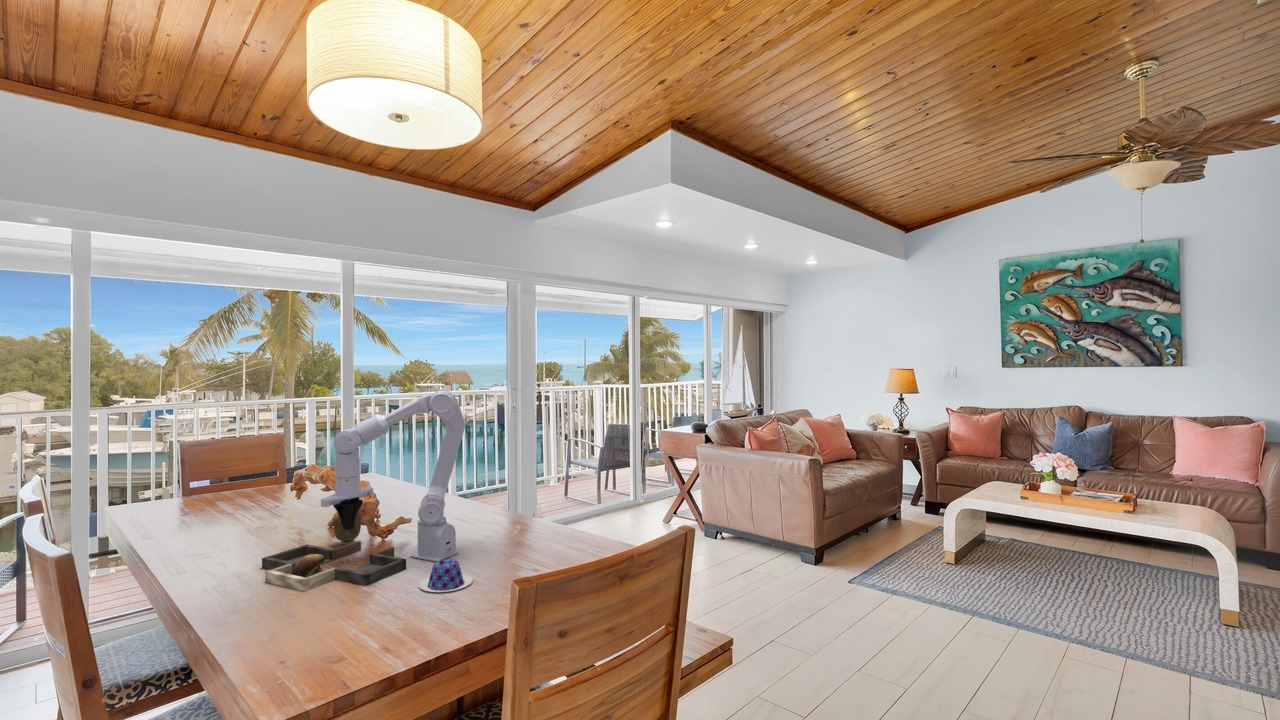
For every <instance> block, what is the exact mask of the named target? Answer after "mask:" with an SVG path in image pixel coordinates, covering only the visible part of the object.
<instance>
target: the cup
mask: <svg viewBox="0 0 1280 720" xmlns="http://www.w3.org/2000/svg"><path fill="white" fill-rule="evenodd" d="M362 519H363V515H362V514H360V515H359V513H357V516H356V519H355V523H354V527H353V529H350V530H346V529H343V526H342V522H341V519H340V516H339V514H338V515H337V519H336V517H333V518H332V525H333V532H334V536H335V538H336V539H337V540H338V541H340V543H339V544H340V547H341V546H344V545H347V544H350V543H353V542H356V541H355V539H357V538H358V537H359V535H360V533H361V527H362Z"/></svg>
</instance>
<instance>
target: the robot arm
mask: <svg viewBox="0 0 1280 720" xmlns="http://www.w3.org/2000/svg"><path fill="white" fill-rule="evenodd" d="M460 406H461V405H460V402H459V400H458V399H457V398H456V397H455V395H454V394H453V393H452V392H451V391H449V390H447V389H439V390H437V391H435V392H434V393H428V394H426V395H425V394H424V395H423V396H420V397H417V398H415V399H414V400H412V401H410V402H408V403H406V404H404V405H402V406H399V408H397V409H395V410H393V411H391V412H389V413H388V414H385V415H383V414H378V413H376V414H374V415H373V414H371V413H370V414H369V415H367V416H366V419H364V420H362V421H360V422H358V423H356V424H354V423H353V424H350V425H349V426H348V427H349V428H346V429H344V430H341V431H340V432H338V433H337V434H336V435H335V436H334V438H333V441H332V443H333V448H334V450H335V460H334V461H335V462H334V464H335V467H334V469H335V470H334V471H335V472H334V473H335V491H334V493H333V494H332V495H329V496H325V497H323V498H320V507H323V508H329V507H330V506H333V508H334V509H335V511H336V512H337V514H338V515H339V516H340V519H341V522H342V526H343V529H346V530H350V529H353V527H354V523H355V519H356V516H357V514H359V511H360V509H361V507H362V505H363V504H364V503H363V499H360V498H364V497H368V496H369V497H370V496H374V487H364V488H361V458H360V448H359V447H361V445H362V446H363V445H366V444H367V445H368V444H369V443H371V442H373V441H375V440H376V439H379V438H381V437H382V436H384V435H386V434H388V433H389V430H390V427H391V426H394V425H395V424H398V423H400V422H402V421H404V420H406V419H408V418H410V417H412V416H415V415H416V414H429V413H430V412H432V413H433V414H435V416H437V417H438V418H439V419H440V420H441V421H442V423H443V425H444V426H445V427H446V432H445V434H444V438H443V441H442V445H441V447H440V451H439V454H438V458H437V460H436V465H435V468H434V471H433V475H432V478H431V482H430V485H429V487H428V491H427V493H426V495H425V496H423V498H422V500H421V502H420V506H419V508H418V511H417V514H418V520H417V552H415V553H413V554H410V556H409V557H410V558H415V559H420V560H424V561H431V562H435V563H436V562H438V561H441V560H446V559H447V558H450V557H452V556H455V555H457V554H458V551H457V550H456V549H457V548H456V543H457V540H456V539H457V537H456V528H455V526H454V525H452V524H450V523H449V522H447V517H445V515H444V513H445V512H444V511H445V510H444V509H445V507H446V502H445V497H446V493H447V489H448V485H449V483H450V479H451V475H452V472H453V468H454V466H455V462H456V459H457V455H458V452H459V449H460V446H461V442H462V439H463V436H464V432H465V429H466V421H465V417H464V415H463V412H462V409H461V407H460Z"/></svg>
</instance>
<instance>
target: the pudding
mask: <svg viewBox="0 0 1280 720" xmlns="http://www.w3.org/2000/svg"><path fill="white" fill-rule="evenodd" d="M473 581H474V580H473V577H472V576H471V575H469V574H466V573H462V569H461V565H460V562H459V561H458V560H455V559H443V560H440V561H438V562H436V561H435V562H434V564H432V567H431V571H430V574H429V576H428V577H426V578H424V579H423V580H421V581H420V582H419V584H418V587H419V588H420V589H421V590H422V591H426V592H430V593H445V592H452V591H453V592H454V591H456V590H460V589H463V588H466V587H467V586H469V585H471V584H472V583H473Z"/></svg>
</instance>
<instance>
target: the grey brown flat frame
mask: <svg viewBox="0 0 1280 720" xmlns="http://www.w3.org/2000/svg"><path fill="white" fill-rule="evenodd" d="M361 551H362V541H358V540H357V541H355V542H353V543H350V544H347V545H344V546H341V545H340V546H338V547H336V548H330V547H325V546H324V547H323V546H319V545H318V546H316V545H313V544H304V545H301V546H298V547H295V548H291V549H288V550H285V551H284V550H283V551H281V552H278V553H274V554H272V555H268V556H264V557H262V558H261V569H265V570H266V571H264V575H265V578H264V582H265V583H267V584H271V585H276V586H280V587H284V588H288V589H289V588H290V589H292V590H293V589H294V590H297V591H301V592H302V591H303V592H306V591H308V590H312V589H314V588H316V587H319V586H321V585H324V584H327V583H329V582H332V581H336V580H337V581H341V582H347V583H350V584H354V585H359V586H365V587H366V586H368V585H371V584H373V583H376V582H378V581H380V580H383V579H385V578H388V577H390V576H393V575H395V574H398V573H400V572H402V571H404V570H405V571H406V570H407V558H403V557H399V556H398V557H397V556H395V547H394V546H389V547H387V548H384V549H381V550H377V551H375V552H372V553H370V554H369V563H367V564H365V565H362V566H359V567H356V568H354V569H349V568H346V567H345V568H344V567H340V566H334V567H331V568H328V569H326V570H325V571H322V572H320V573H317V574H314V575H311V576H309V577H306V578H305V577H300V576H296V575H292V569H293V567H294V565H295V564H296V563H297V562H298V561H299V560H300V559H302V558H303V557H305V556H306V555H309V554H321V555H323V556H324V557H325V560H324V562H323V563H322V564H321V565H324V564H326V563H330V562H333V561H335V560H338V559H341V558H344V557H348V556H350V555H353V554H356V553H359V552H361ZM321 565H320V566H321Z"/></svg>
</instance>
